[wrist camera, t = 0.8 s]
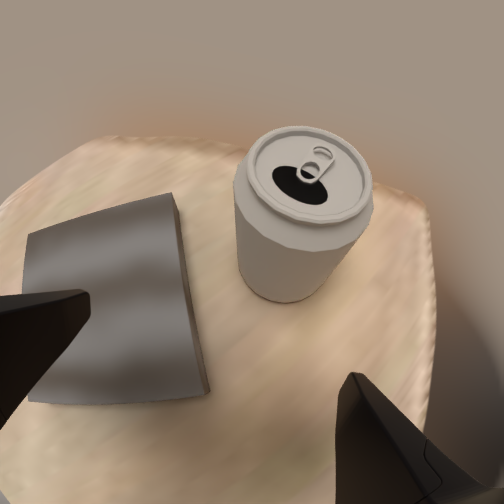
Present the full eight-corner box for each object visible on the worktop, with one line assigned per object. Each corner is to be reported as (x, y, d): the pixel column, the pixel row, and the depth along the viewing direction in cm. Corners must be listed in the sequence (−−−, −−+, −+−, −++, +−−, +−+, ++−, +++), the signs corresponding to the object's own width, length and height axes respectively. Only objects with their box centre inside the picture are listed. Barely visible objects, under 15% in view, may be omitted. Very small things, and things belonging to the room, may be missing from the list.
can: (219, 269, 23) (197, 172, 12) (272, 208, 25) (287, 100, 14) (294, 323, 21) (346, 270, 10) (340, 254, 23) (402, 163, 12)
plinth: (210, 391, 18) (204, 394, 16) (48, 401, 17) (28, 401, 14) (178, 211, 25) (171, 192, 22) (43, 246, 23) (28, 234, 20)
